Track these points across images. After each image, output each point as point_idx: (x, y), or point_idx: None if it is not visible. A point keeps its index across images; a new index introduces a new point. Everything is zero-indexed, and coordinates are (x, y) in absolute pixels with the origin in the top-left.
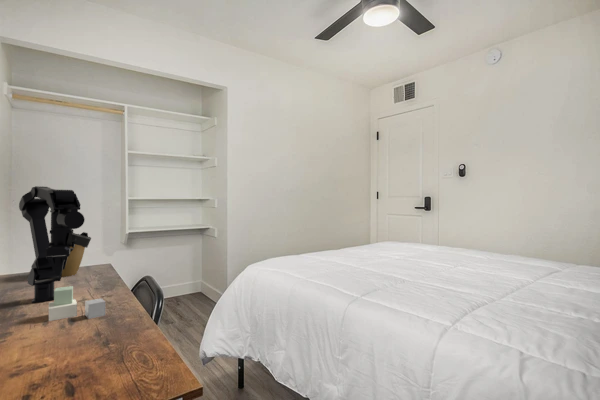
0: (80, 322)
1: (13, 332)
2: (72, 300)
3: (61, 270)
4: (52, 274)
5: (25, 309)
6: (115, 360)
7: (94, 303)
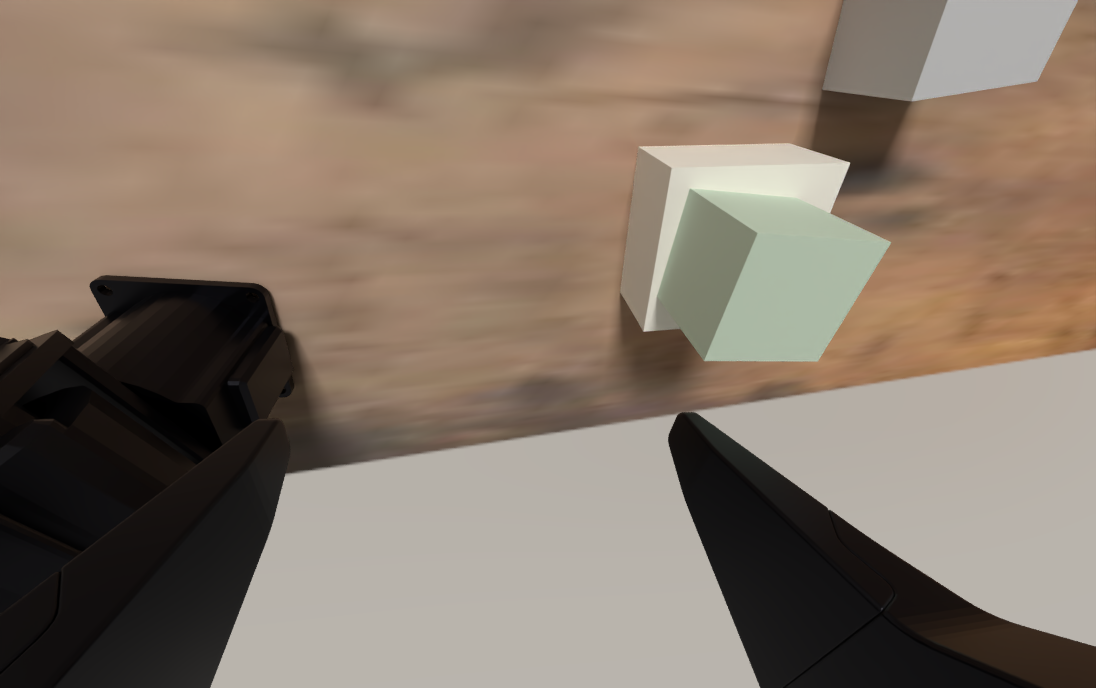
0: (932, 130)
1: (773, 382)
2: (743, 194)
3: (755, 457)
4: (154, 458)
5: (429, 394)
6: None
7: (1062, 24)
